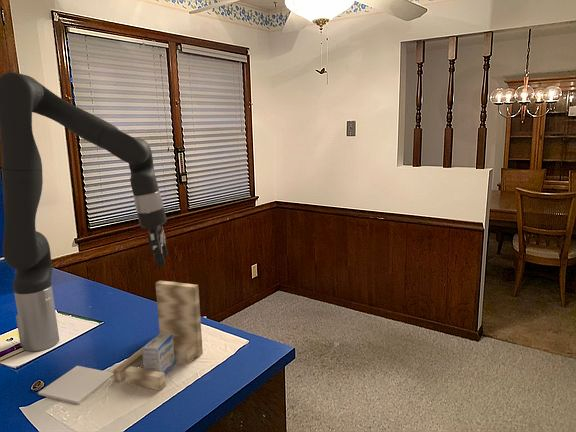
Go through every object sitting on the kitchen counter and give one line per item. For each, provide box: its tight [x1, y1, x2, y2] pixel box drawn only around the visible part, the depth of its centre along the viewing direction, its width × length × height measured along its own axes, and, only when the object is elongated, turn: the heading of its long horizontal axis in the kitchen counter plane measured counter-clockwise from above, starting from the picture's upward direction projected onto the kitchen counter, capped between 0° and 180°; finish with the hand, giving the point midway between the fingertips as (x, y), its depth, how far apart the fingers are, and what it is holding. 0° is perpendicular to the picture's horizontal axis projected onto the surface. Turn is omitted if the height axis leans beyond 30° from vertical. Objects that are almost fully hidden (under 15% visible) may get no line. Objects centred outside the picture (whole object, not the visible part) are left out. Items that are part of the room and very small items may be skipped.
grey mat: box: [37, 365, 114, 405], centre depth 106 cm, size 12×12×1 cm
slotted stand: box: [112, 280, 204, 392], centre depth 111 cm, size 14×18×20 cm
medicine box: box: [141, 333, 176, 376], centre depth 110 cm, size 8×4×9 cm, turn 168°
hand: (162, 261), depth 128 cm, fingers open, 8 cm apart
